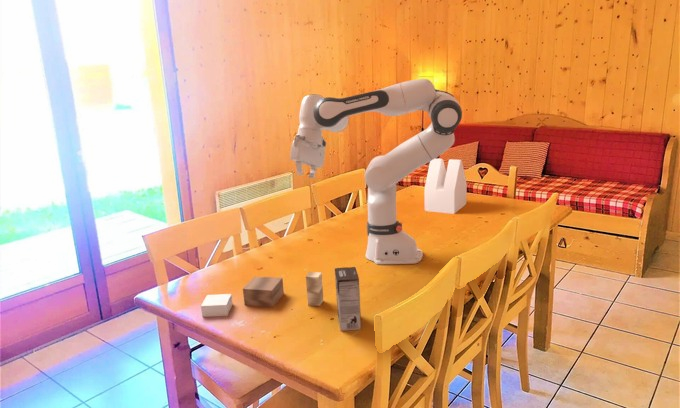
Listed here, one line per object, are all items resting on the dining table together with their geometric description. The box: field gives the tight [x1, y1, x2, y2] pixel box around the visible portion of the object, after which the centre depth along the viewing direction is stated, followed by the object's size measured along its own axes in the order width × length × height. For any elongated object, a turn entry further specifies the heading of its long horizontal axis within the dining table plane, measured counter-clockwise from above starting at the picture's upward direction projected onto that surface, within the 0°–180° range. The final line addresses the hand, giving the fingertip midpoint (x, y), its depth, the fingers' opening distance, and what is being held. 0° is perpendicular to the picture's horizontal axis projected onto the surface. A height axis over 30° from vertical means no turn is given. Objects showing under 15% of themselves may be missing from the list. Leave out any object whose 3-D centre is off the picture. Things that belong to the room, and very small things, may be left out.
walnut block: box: [242, 276, 285, 308], centre depth 173 cm, size 10×10×6 cm
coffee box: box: [334, 266, 362, 332], centre depth 153 cm, size 9×6×16 cm
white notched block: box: [423, 158, 468, 215], centre depth 264 cm, size 19×15×25 cm
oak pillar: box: [305, 271, 324, 307], centre depth 168 cm, size 4×4×10 cm
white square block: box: [200, 293, 234, 318], centre depth 168 cm, size 8×8×4 cm
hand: (305, 176), depth 191 cm, fingers open, 8 cm apart
